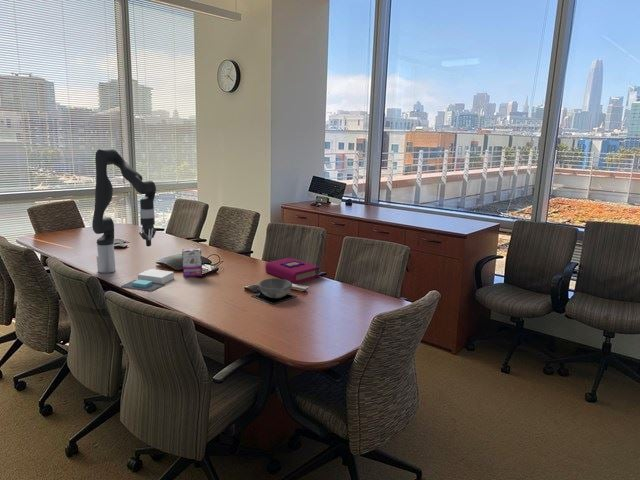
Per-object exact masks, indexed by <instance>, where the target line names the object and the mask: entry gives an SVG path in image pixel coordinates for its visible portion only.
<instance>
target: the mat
mask: <svg viewBox="0 0 640 480" xmlns="http://www.w3.org/2000/svg"><path fill="white" fill-rule="evenodd" d="M136 280H137V279H134V280H132V281H131V280H130V281H129V282H127V283H125V284H123V285H120V287H121V288H122V289H123V288H124V289H131V290H137V289H138V290H137V291H143V290H147V291H146V292H150V291H152V292H154V291H155V289H156V290H158V289H160V288H162V287H164V286H165V284H166V283H164V284H161V283H154V282H152V284H153V285H151V286H149V287H147V288H142V287H136V286H132V282H134V281H136ZM161 286H162V287H161ZM159 287H160V288H159ZM157 288H158V289H157ZM153 290H154V291H153Z"/></svg>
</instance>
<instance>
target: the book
mask: <svg viewBox="0 0 640 480" xmlns="http://www.w3.org/2000/svg"><path fill="white" fill-rule="evenodd" d="M320 267H321V266H318V265H315V264H313V263H309V262H307V261H303V260H300V259H297V258H294V257H286V258H281V259H276V260H273V261H268V262H266V263H265V268H264V269H265V272H266V273H267V274H269V275H272V276H275V277H277V278H279V279H284V280H288V281H290V282H291V283H292V284H300V283H303V282H307V281H311V280H315V279H319V278H320V274H317V273H316V271H318V270H320Z"/></svg>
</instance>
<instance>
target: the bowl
mask: <svg viewBox="0 0 640 480" xmlns="http://www.w3.org/2000/svg"><path fill="white" fill-rule="evenodd" d="M292 286H293V282H290V281H288V280H285V279H282V278H278V277H277V278H267V279H266V278H265V279H263V280H261V281H259V283H258V288H259V290H260V292H261V293H262V295H264V296H265V297H268V298H271V299H281V298H283V297H285V296H286V295H288V294H289V293H290V291H291V289H292Z"/></svg>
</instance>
